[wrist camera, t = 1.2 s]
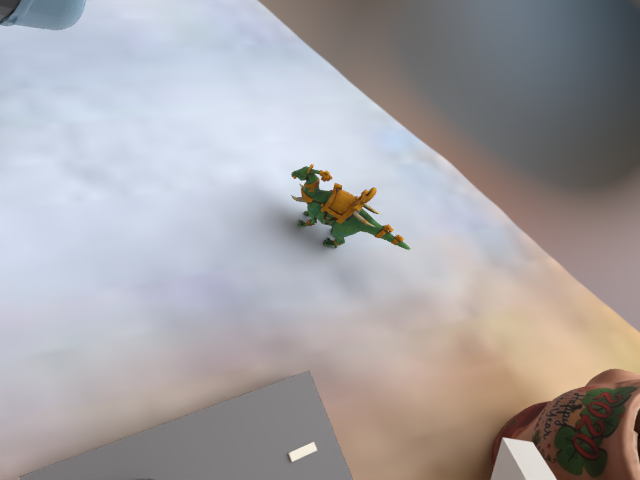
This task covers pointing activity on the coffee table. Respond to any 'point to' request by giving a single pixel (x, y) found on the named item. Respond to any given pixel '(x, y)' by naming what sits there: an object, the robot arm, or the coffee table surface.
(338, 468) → the dial board
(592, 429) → the decorative planter
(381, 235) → the figurine
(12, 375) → the coffee table surface
